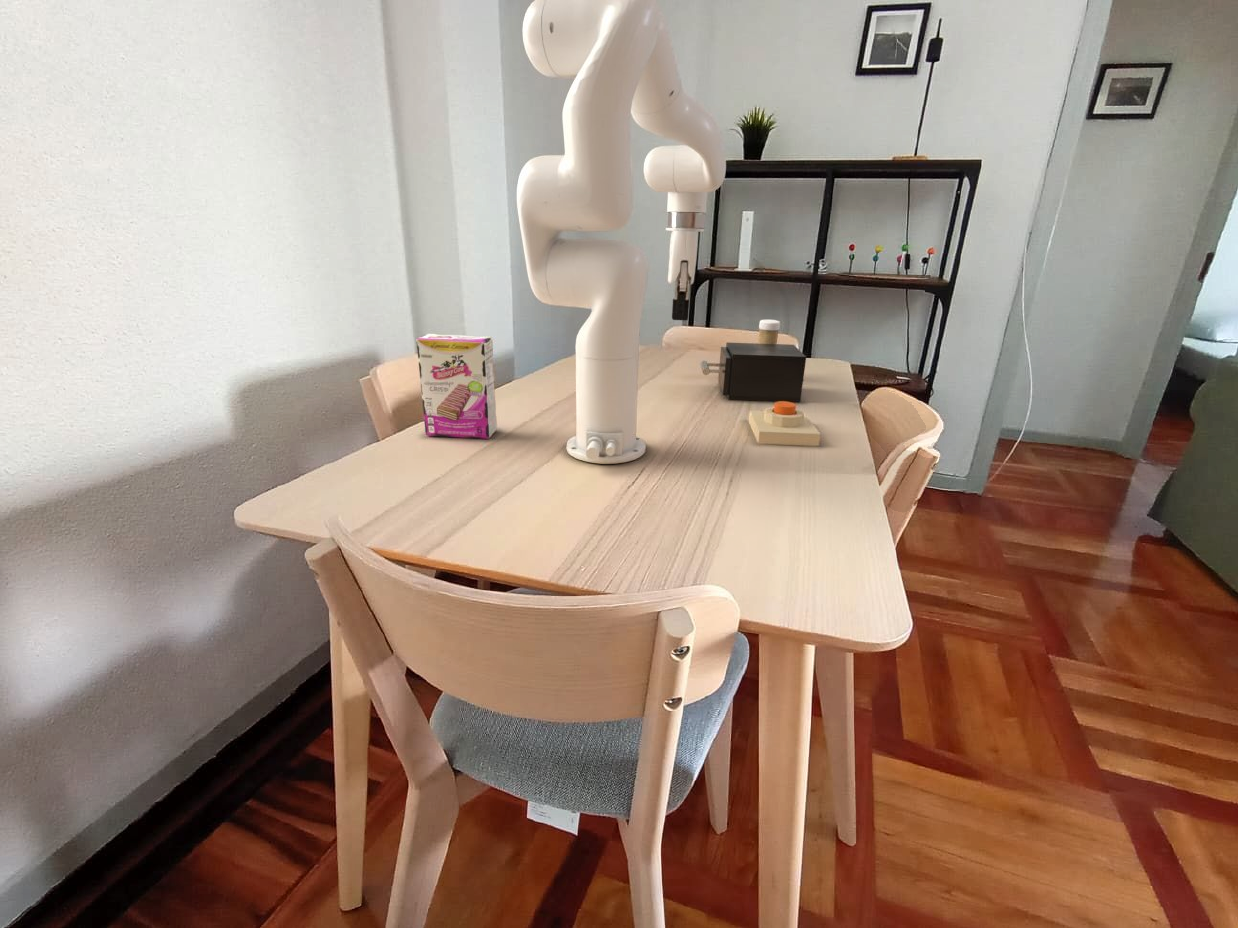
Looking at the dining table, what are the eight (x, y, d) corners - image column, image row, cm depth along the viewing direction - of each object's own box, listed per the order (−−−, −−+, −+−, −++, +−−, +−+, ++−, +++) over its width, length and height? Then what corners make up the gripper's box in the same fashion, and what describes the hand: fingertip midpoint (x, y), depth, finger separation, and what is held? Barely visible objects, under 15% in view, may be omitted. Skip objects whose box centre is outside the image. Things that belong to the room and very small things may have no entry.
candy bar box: (424, 437, 102) (413, 338, 95) (435, 427, 106) (426, 332, 100) (490, 440, 101) (483, 341, 95) (498, 430, 105) (492, 335, 99)
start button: (796, 417, 104) (798, 407, 103) (775, 416, 104) (776, 406, 103) (792, 411, 107) (793, 401, 107) (771, 410, 107) (773, 400, 107)
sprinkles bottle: (752, 379, 143) (758, 321, 138) (755, 375, 147) (761, 318, 142) (772, 381, 141) (779, 322, 136) (774, 377, 145) (781, 319, 140)
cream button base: (818, 446, 101) (822, 423, 100) (757, 443, 102) (760, 421, 100) (803, 423, 112) (806, 402, 111) (748, 421, 113) (750, 400, 111)
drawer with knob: (701, 394, 126) (704, 357, 123) (698, 380, 137) (701, 346, 134) (788, 397, 125) (793, 360, 122) (778, 383, 136) (783, 348, 133)
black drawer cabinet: (728, 400, 126) (732, 354, 122) (722, 385, 137) (726, 342, 134) (800, 403, 125) (806, 356, 121) (788, 387, 137) (793, 344, 133)
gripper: (665, 223, 125) (660, 314, 132) (667, 222, 111) (661, 324, 118) (702, 224, 125) (695, 315, 131) (708, 223, 111) (700, 325, 117)
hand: (679, 319), depth 125 cm, fingers closed
